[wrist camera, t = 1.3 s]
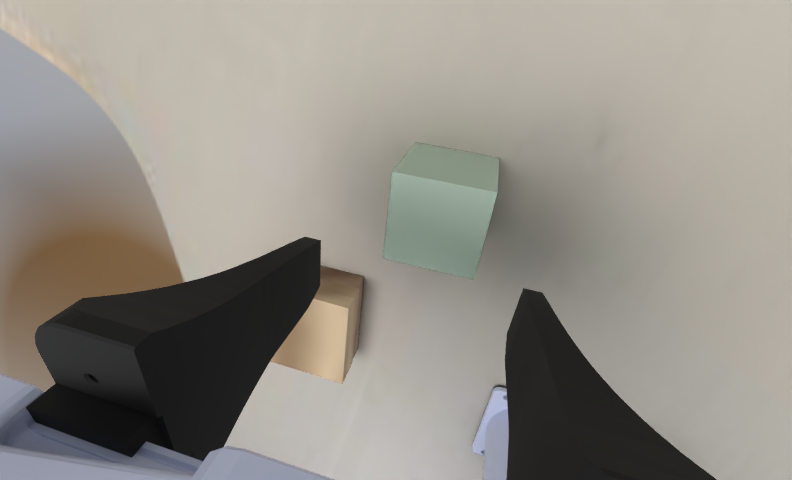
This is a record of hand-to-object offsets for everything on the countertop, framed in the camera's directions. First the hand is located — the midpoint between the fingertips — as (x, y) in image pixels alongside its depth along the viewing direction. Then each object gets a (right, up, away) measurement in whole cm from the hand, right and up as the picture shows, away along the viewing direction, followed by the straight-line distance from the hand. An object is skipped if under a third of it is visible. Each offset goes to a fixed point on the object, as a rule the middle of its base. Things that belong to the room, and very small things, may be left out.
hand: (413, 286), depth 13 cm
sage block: (+2, +5, +8) cm, 10 cm away
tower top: (-7, -4, +14) cm, 16 cm away
